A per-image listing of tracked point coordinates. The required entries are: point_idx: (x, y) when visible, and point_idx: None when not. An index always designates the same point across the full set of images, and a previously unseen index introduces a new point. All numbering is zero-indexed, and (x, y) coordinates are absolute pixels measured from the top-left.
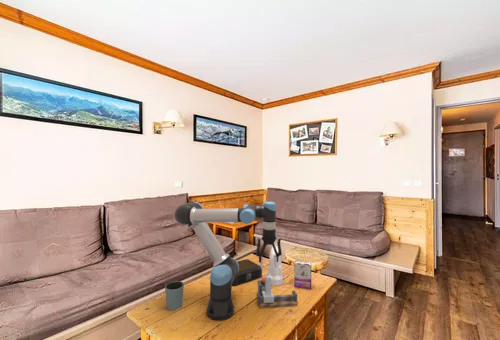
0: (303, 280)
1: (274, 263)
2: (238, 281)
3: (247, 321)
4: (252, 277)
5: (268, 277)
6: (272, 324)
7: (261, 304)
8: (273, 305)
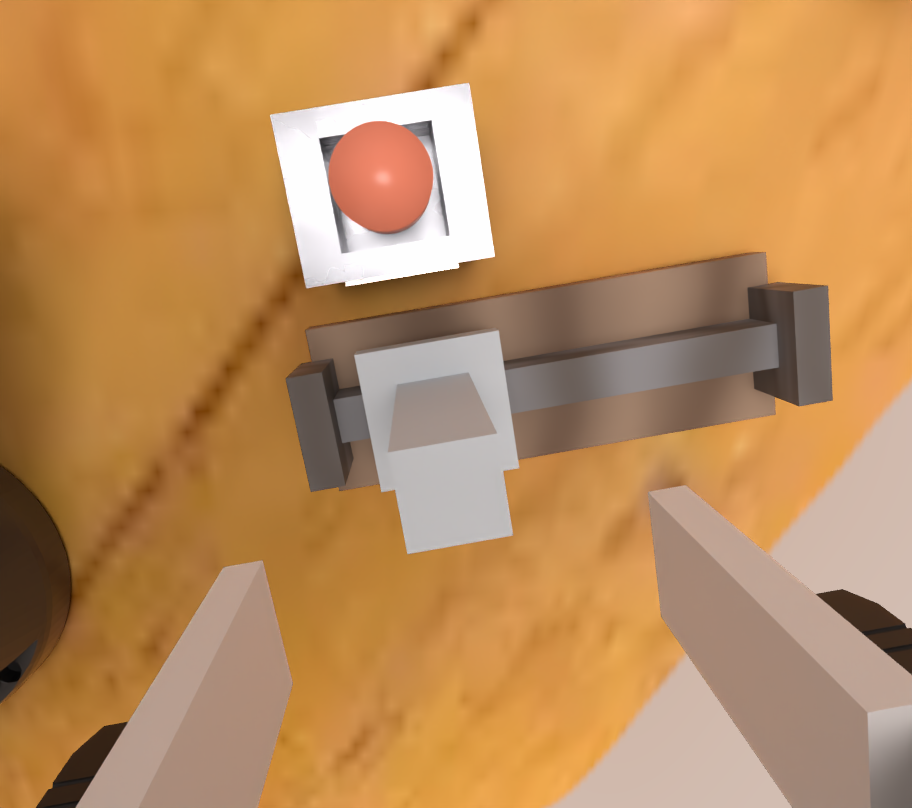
0: None
1: (689, 562)
2: None
3: None
4: None
5: (454, 523)
6: (464, 705)
7: (358, 468)
8: None
